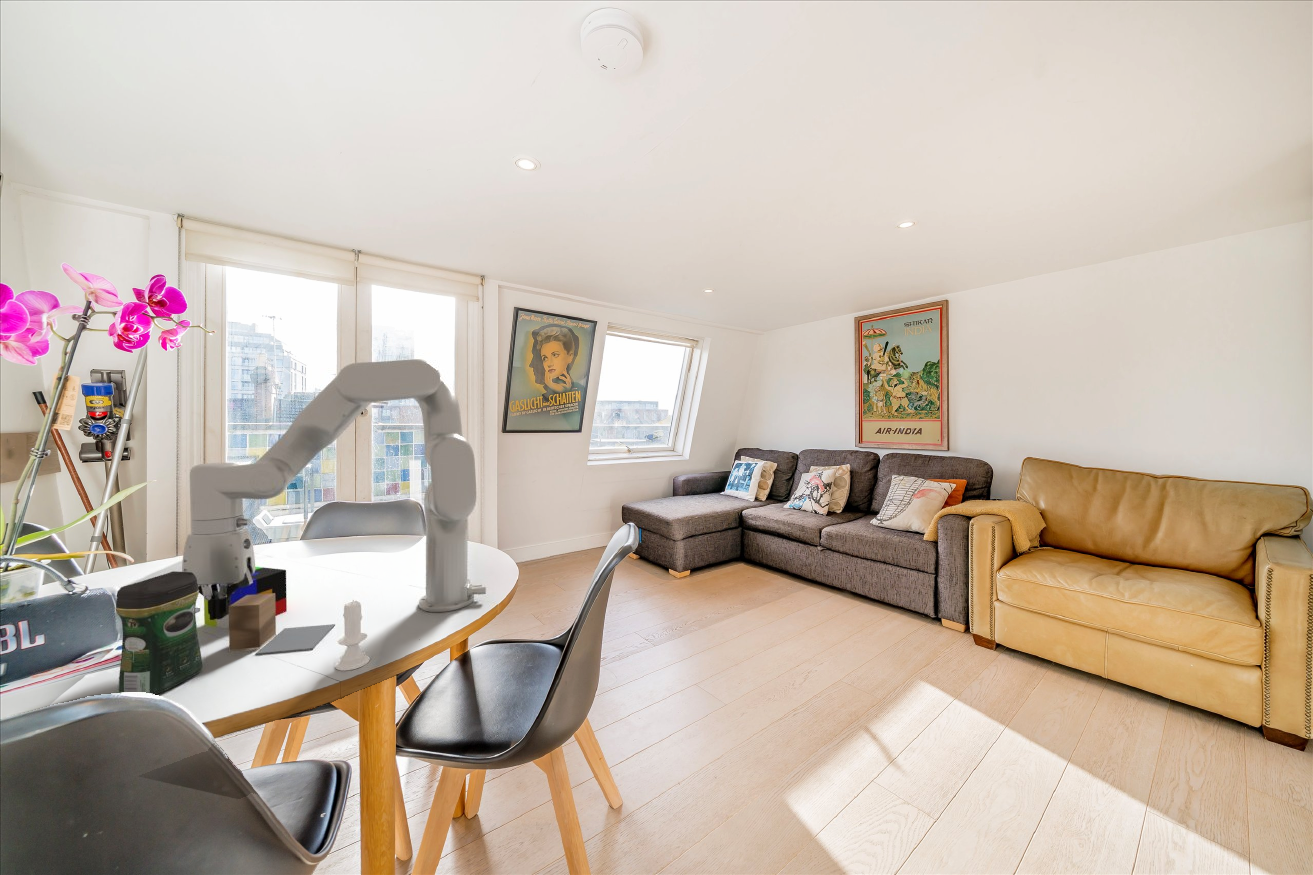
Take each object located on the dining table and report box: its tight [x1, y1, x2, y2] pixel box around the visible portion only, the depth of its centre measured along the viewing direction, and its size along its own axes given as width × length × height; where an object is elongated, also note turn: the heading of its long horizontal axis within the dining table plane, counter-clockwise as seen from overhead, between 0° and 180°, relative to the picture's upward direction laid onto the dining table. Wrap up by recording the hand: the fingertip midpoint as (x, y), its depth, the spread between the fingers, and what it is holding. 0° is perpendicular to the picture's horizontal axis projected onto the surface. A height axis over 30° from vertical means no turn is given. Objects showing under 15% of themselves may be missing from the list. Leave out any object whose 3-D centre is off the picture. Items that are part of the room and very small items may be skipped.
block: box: [228, 593, 277, 653], centre depth 94 cm, size 5×6×9 cm
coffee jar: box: [115, 570, 203, 695], centre depth 80 cm, size 10×8×19 cm
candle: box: [335, 599, 370, 672], centre depth 88 cm, size 5×5×12 cm
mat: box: [255, 623, 336, 656], centre depth 97 cm, size 10×11×1 cm
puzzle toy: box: [203, 566, 288, 629], centre depth 106 cm, size 10×10×10 cm
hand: (219, 616), depth 93 cm, fingers closed
